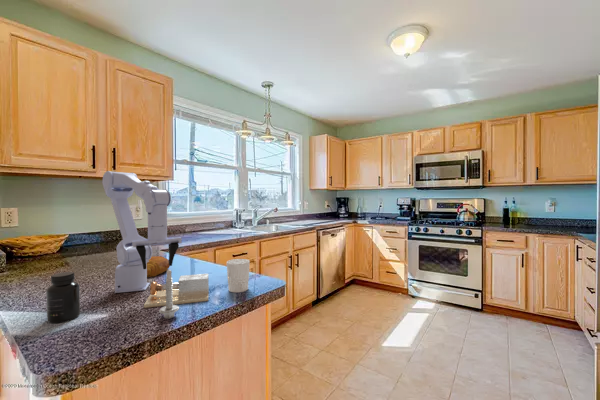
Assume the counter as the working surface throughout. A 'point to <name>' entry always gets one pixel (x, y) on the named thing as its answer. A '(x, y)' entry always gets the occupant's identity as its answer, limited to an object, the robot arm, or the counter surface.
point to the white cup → (238, 275)
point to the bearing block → (183, 291)
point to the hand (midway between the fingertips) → (157, 266)
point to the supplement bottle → (63, 298)
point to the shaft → (161, 287)
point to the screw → (169, 298)
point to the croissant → (157, 265)
